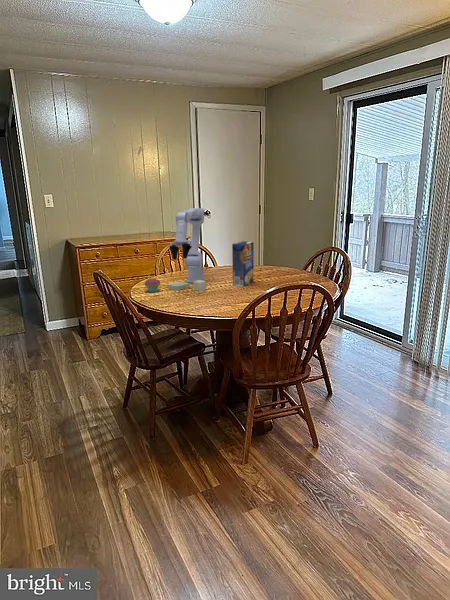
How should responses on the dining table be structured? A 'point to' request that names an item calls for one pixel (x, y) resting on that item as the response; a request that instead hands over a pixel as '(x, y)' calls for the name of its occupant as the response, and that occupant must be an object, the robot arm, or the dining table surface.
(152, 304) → the dining table surface
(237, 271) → the juice carton
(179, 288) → the base
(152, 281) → the cupcake
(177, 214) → the robot arm
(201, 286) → the block
